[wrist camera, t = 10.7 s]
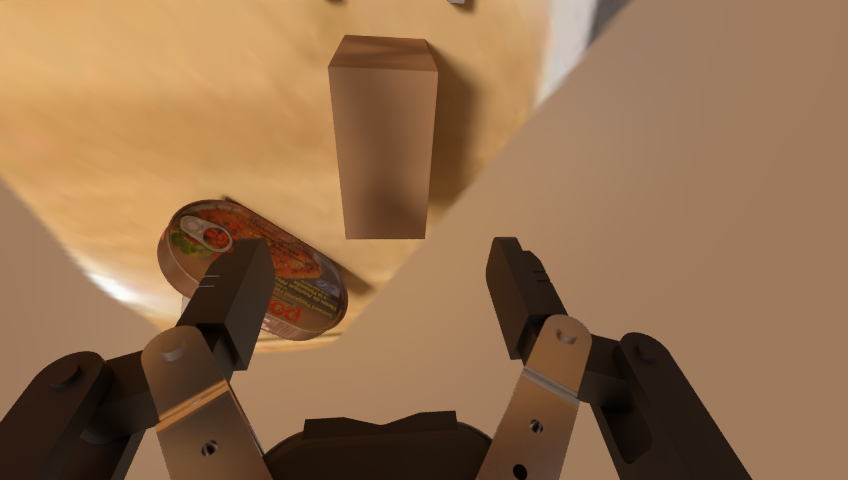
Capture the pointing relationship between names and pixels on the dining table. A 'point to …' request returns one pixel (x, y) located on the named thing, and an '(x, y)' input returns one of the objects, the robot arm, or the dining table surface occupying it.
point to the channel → (456, 1)
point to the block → (383, 134)
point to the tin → (293, 260)
